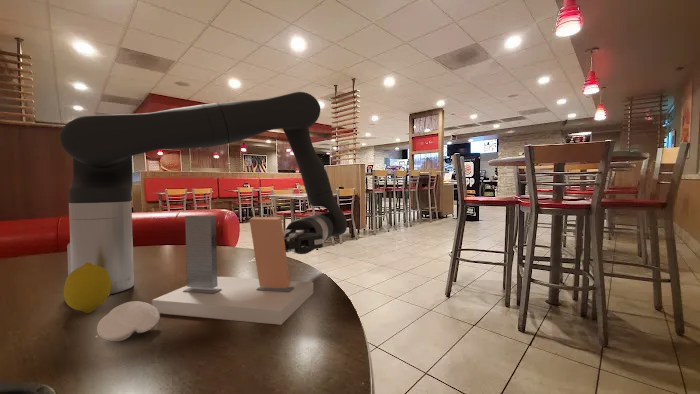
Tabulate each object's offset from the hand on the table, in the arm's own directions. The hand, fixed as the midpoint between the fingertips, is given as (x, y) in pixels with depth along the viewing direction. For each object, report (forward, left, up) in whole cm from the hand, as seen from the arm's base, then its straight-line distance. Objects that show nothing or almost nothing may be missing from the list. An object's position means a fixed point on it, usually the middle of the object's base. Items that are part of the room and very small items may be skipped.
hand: (271, 249), depth 48 cm
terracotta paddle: (0, +1, -7) cm, 7 cm away
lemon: (-27, -9, -9) cm, 30 cm away
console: (-6, -1, -9) cm, 11 cm away
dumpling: (-13, -14, -9) cm, 21 cm away
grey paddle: (-12, -2, -7) cm, 14 cm away
